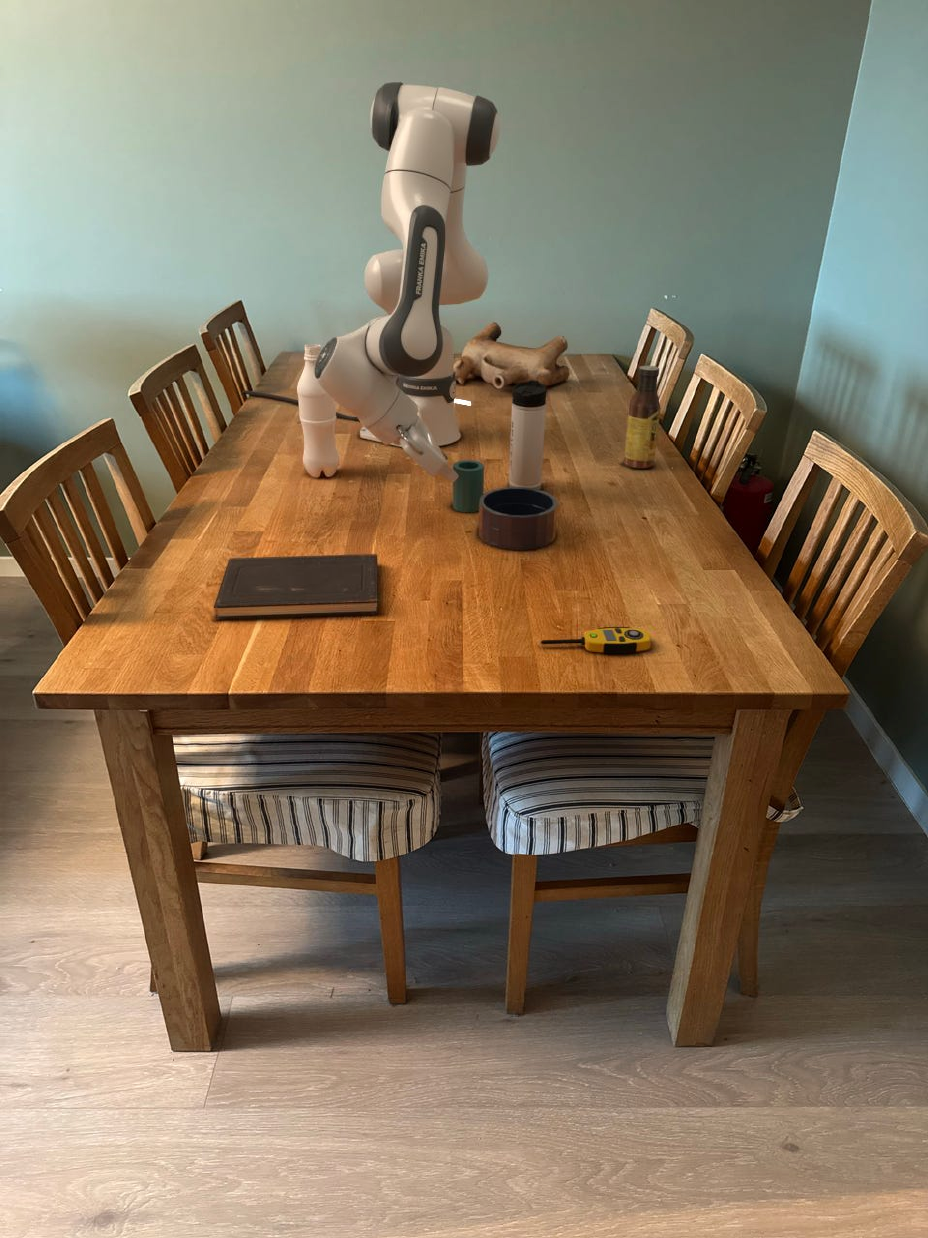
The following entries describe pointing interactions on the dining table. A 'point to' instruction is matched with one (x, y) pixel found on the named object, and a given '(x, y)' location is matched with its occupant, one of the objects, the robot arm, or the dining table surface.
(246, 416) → the dining table surface
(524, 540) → the pot
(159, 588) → the dining table surface
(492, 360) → the ceramic vessel
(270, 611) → the hardcover book
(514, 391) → the travel mug
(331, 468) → the water bottle
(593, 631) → the yellow walkie talkie
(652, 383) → the sauce bottle
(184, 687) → the dining table surface
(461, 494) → the teal hollow cylinder
